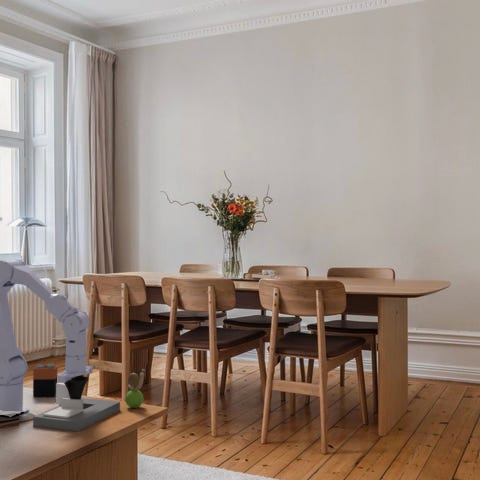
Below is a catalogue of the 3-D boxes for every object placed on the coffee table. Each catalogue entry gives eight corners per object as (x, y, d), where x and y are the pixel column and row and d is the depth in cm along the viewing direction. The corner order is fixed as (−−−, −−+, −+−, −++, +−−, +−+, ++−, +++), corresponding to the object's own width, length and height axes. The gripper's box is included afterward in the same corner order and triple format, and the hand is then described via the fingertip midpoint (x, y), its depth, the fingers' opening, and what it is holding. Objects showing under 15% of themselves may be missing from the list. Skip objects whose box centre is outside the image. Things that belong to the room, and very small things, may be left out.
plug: (55, 406, 191) (56, 383, 191) (63, 403, 194) (63, 381, 194) (67, 407, 189) (67, 384, 189) (75, 404, 193) (75, 382, 193)
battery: (54, 397, 202) (54, 365, 202) (32, 397, 201) (32, 365, 201) (57, 393, 206) (57, 363, 206) (36, 393, 206) (36, 363, 206)
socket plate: (33, 425, 171) (33, 416, 171) (78, 405, 191) (78, 397, 191) (77, 431, 166) (78, 421, 166) (119, 410, 187) (120, 401, 187)
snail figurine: (137, 411, 186) (137, 370, 186) (121, 408, 189) (121, 368, 189) (149, 407, 190) (149, 367, 190) (133, 404, 194) (133, 365, 194)
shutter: (43, 415, 171) (43, 405, 171) (61, 407, 179) (61, 397, 179) (67, 418, 169) (67, 407, 169) (85, 410, 177) (85, 400, 177)
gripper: (73, 360, 171) (73, 411, 171) (102, 351, 185) (101, 398, 185) (51, 358, 173) (50, 408, 173) (81, 350, 187) (80, 396, 187)
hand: (75, 403), depth 179 cm, fingers closed
